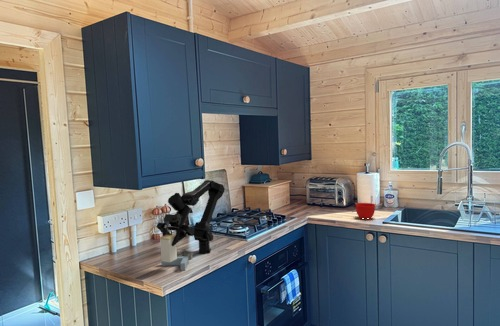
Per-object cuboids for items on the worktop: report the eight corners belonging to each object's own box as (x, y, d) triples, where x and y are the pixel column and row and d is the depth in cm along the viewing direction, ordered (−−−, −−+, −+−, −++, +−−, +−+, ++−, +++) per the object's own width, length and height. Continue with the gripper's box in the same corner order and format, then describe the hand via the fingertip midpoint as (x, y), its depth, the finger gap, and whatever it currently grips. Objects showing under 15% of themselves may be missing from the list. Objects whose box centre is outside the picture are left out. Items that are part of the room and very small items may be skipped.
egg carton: (185, 256, 183) (184, 248, 183) (195, 258, 179) (195, 250, 178) (168, 262, 175) (168, 254, 175) (178, 265, 170) (178, 256, 170)
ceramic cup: (371, 215, 261) (371, 201, 260) (377, 220, 244) (377, 206, 243) (353, 215, 262) (353, 202, 261) (357, 220, 245) (357, 206, 245)
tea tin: (168, 257, 167) (167, 234, 166) (177, 258, 165) (176, 235, 164) (161, 261, 163) (159, 237, 162) (170, 262, 160) (168, 238, 159)
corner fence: (162, 264, 171) (162, 257, 171) (188, 263, 171) (188, 256, 171) (157, 271, 162) (157, 264, 162) (185, 270, 162) (184, 263, 162)
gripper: (157, 205, 170) (142, 234, 161) (189, 207, 162) (175, 238, 153) (169, 218, 178) (155, 246, 169) (200, 220, 170) (187, 250, 161)
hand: (167, 245), depth 163 cm, fingers closed on tea tin, 5 cm apart
